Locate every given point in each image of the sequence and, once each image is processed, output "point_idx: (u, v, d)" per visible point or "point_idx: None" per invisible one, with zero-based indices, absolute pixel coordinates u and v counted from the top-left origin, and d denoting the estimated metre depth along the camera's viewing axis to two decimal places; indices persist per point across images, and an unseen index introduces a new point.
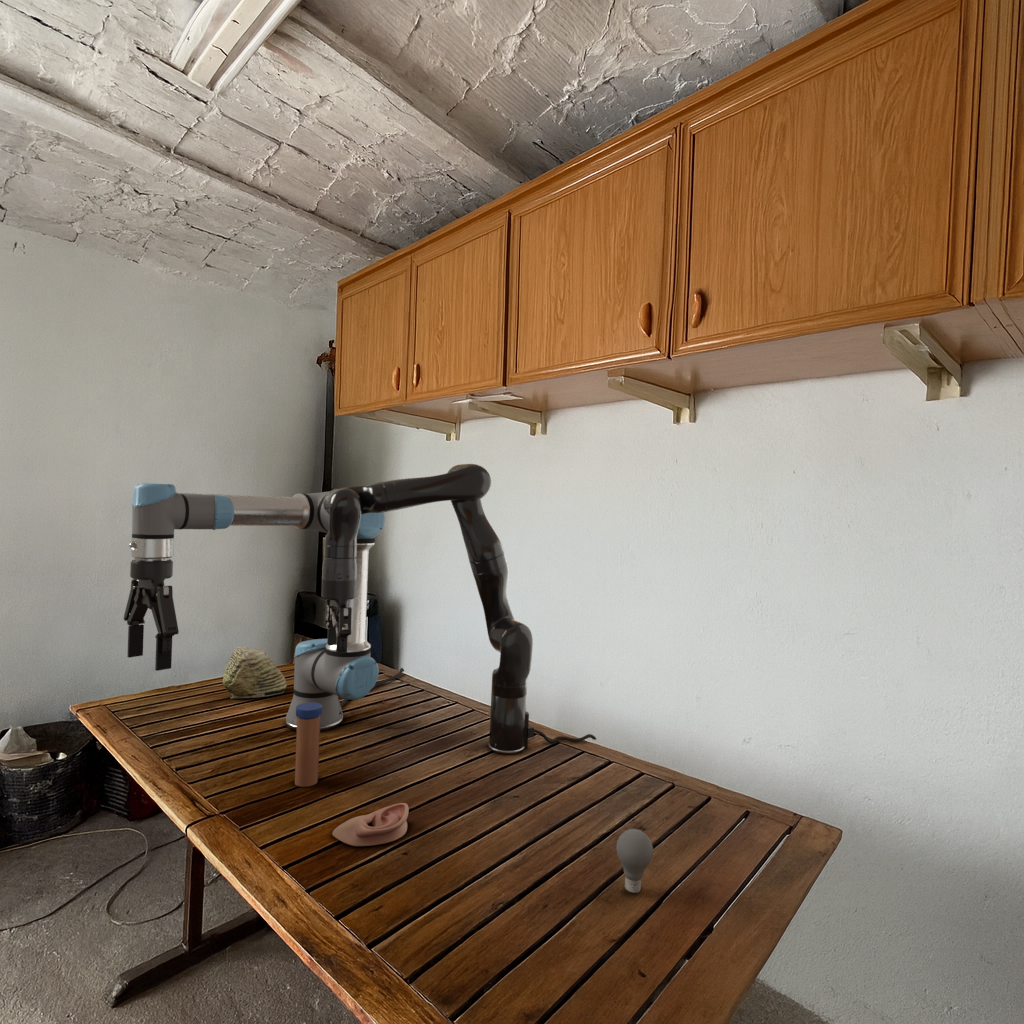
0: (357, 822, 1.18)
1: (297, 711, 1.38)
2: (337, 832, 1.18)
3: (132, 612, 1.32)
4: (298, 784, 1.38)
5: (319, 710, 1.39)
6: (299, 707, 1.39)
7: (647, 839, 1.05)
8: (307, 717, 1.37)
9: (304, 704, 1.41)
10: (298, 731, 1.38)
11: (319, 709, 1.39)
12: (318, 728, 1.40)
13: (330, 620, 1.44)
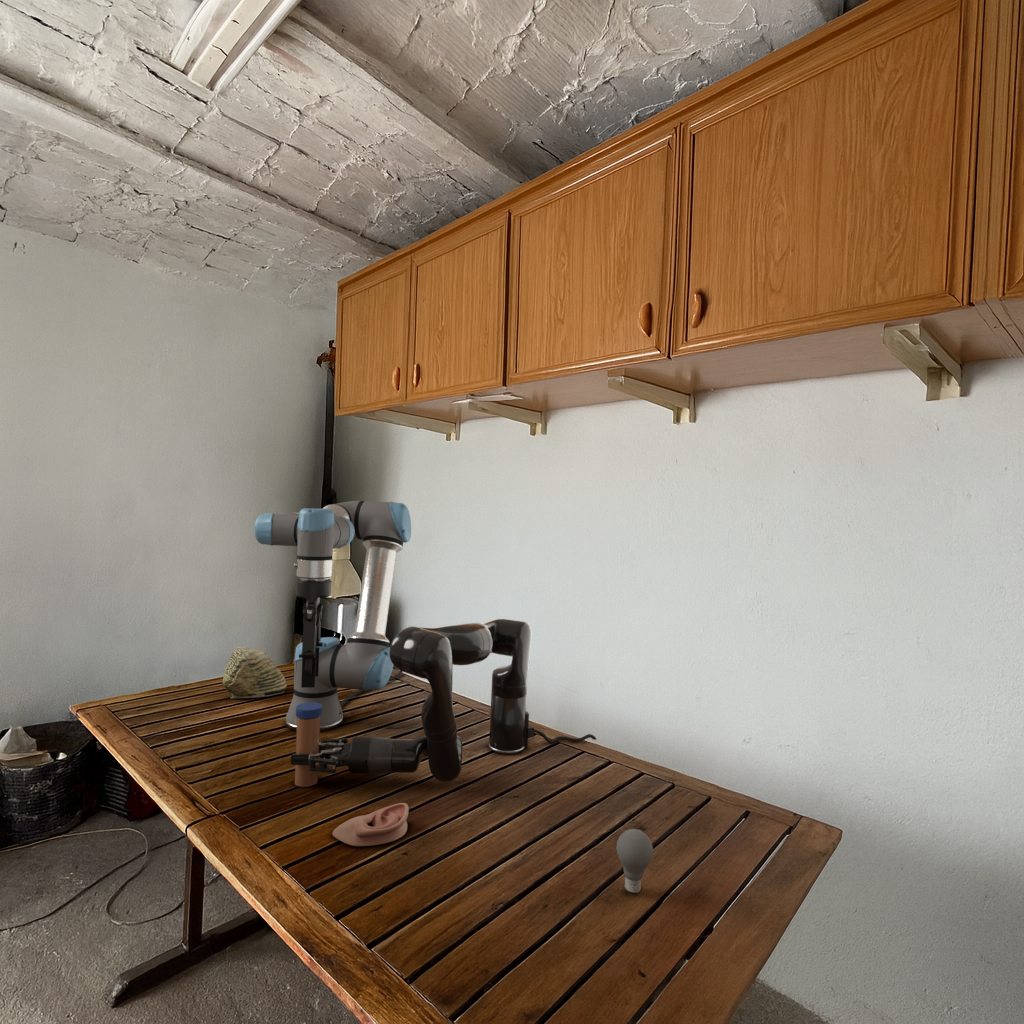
0: (357, 822, 1.18)
1: (297, 711, 1.38)
2: (337, 832, 1.18)
3: None
4: (298, 784, 1.38)
5: (319, 710, 1.39)
6: (299, 707, 1.39)
7: (647, 839, 1.05)
8: (307, 717, 1.37)
9: (304, 704, 1.41)
10: (298, 731, 1.38)
11: (319, 709, 1.39)
12: (318, 728, 1.40)
13: None
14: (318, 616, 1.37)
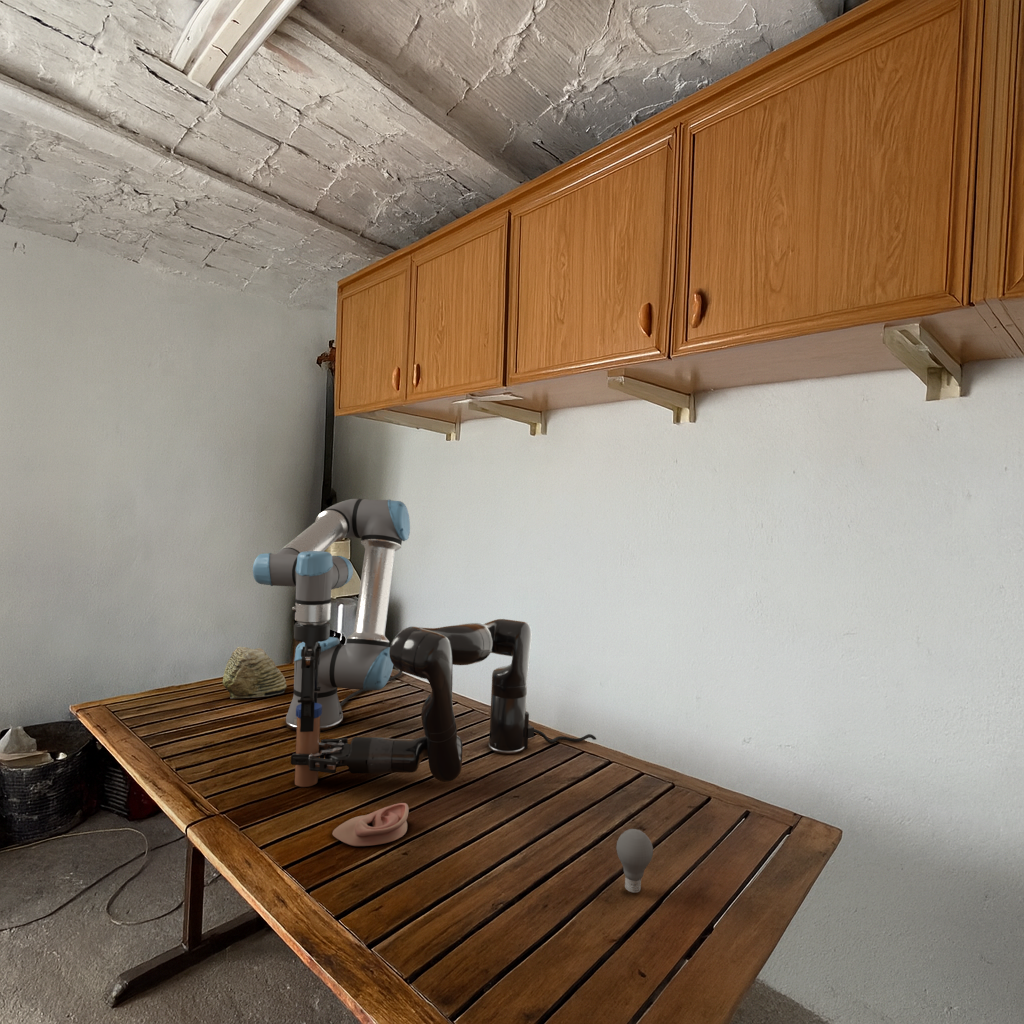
0: (357, 822, 1.18)
1: (297, 711, 1.38)
2: (337, 832, 1.18)
3: None
4: (298, 784, 1.38)
5: (319, 710, 1.39)
6: (299, 707, 1.39)
7: (647, 839, 1.05)
8: None
9: None
10: (298, 731, 1.38)
11: (319, 709, 1.39)
12: (318, 728, 1.40)
13: None
14: (316, 660, 1.38)
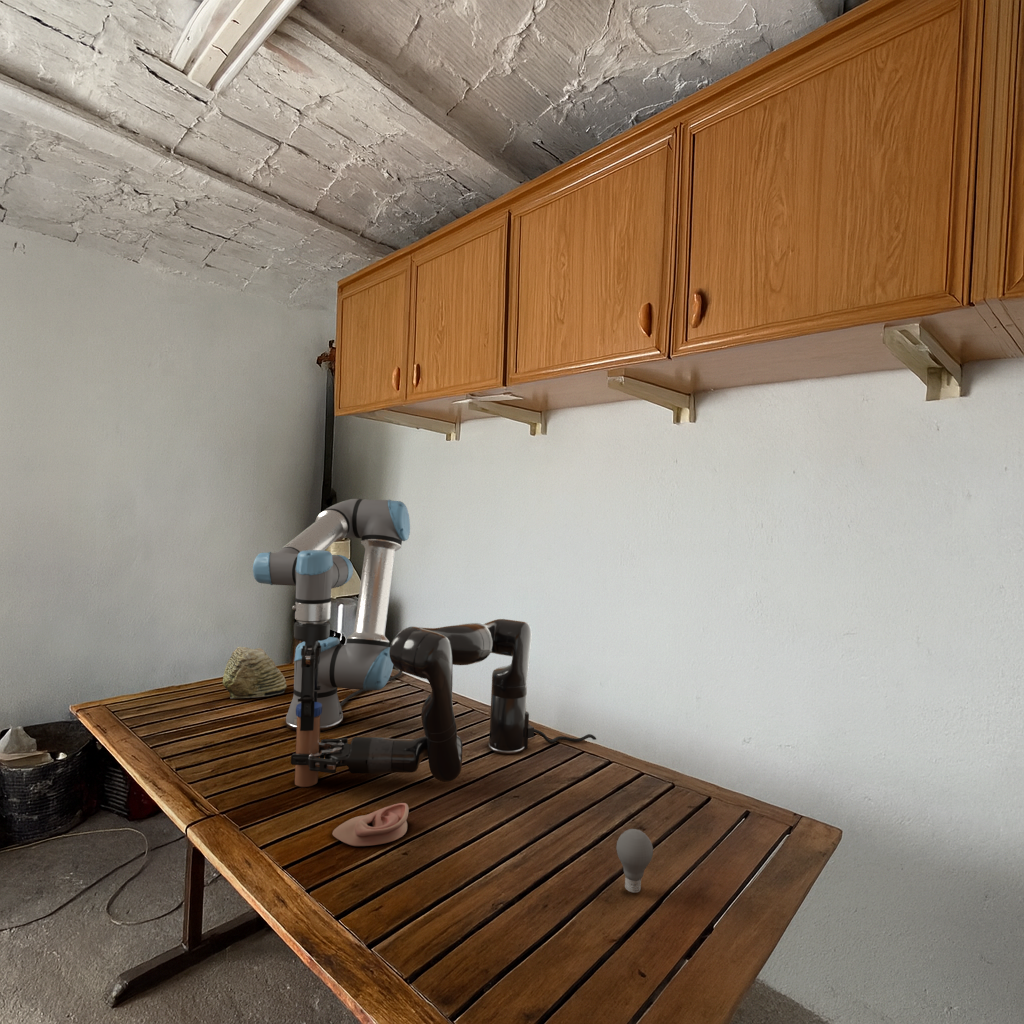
0: (357, 822, 1.18)
1: None
2: (337, 832, 1.18)
3: None
4: (298, 784, 1.38)
5: None
6: None
7: (647, 839, 1.05)
8: (319, 713, 1.39)
9: (300, 706, 1.39)
10: (298, 731, 1.38)
11: None
12: (318, 728, 1.40)
13: None
14: (316, 659, 1.38)
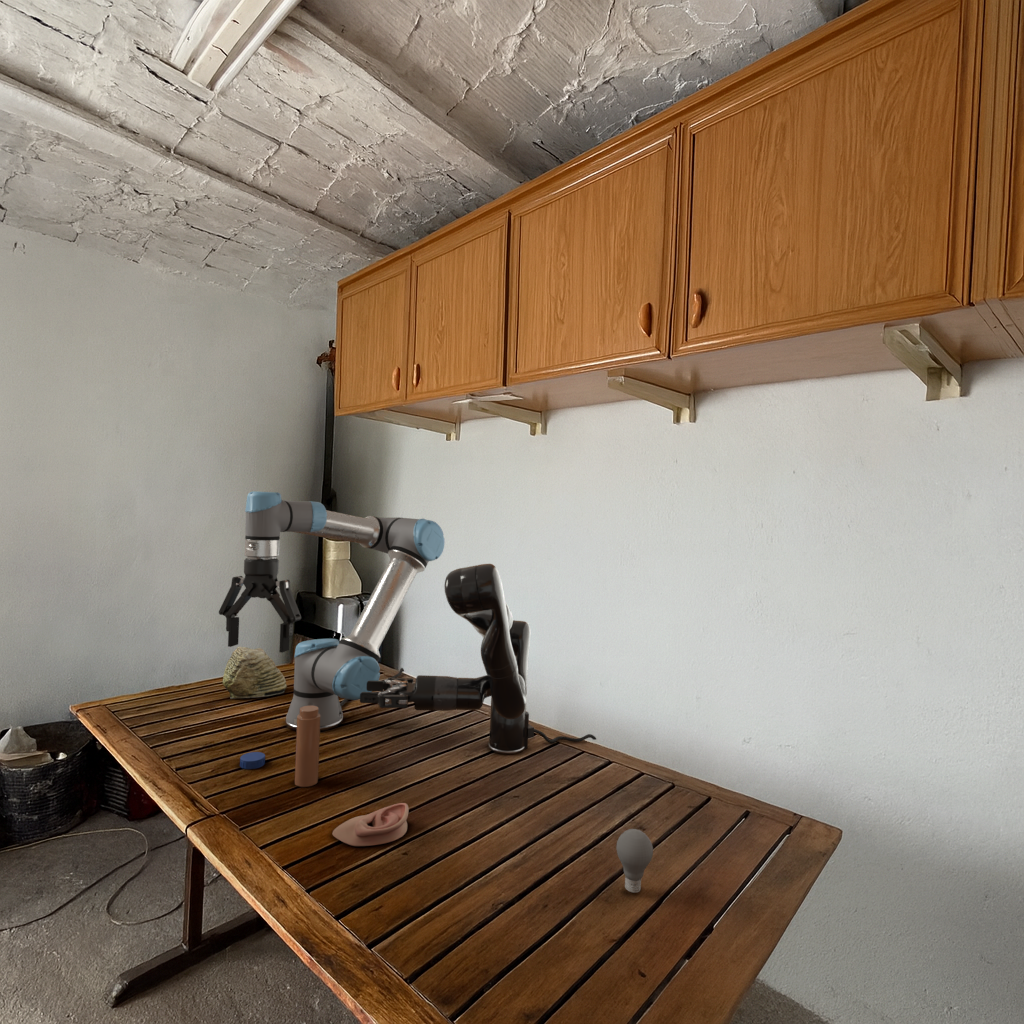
0: (357, 822, 1.18)
1: (263, 760, 1.48)
2: (337, 832, 1.18)
3: (235, 606, 1.48)
4: (298, 784, 1.38)
5: None
6: (259, 758, 1.47)
7: (647, 839, 1.05)
8: None
9: (249, 759, 1.46)
10: (298, 731, 1.38)
11: None
12: (318, 728, 1.40)
13: None
14: (275, 589, 1.48)
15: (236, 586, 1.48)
